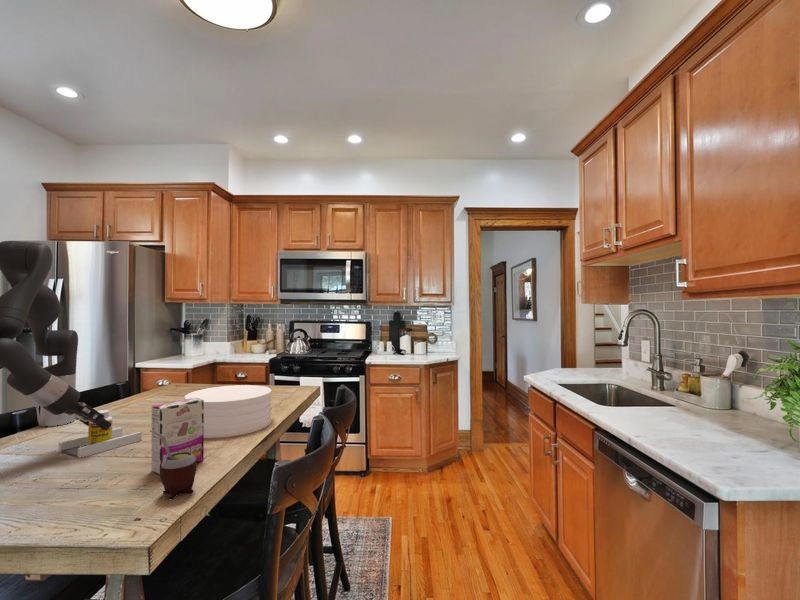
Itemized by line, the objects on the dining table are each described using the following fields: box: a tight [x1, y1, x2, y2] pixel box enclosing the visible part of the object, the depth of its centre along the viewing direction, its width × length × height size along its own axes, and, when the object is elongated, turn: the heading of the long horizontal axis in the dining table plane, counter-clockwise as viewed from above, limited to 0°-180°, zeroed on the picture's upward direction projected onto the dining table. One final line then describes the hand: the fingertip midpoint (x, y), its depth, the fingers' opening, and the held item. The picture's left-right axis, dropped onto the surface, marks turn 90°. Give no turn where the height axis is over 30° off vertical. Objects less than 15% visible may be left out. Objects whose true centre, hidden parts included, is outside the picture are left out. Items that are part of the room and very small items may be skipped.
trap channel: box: [58, 426, 142, 459], centre depth 113 cm, size 16×11×2 cm
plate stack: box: [183, 384, 272, 439], centre depth 135 cm, size 28×28×12 cm
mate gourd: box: [149, 429, 198, 500], centre depth 84 cm, size 8×8×15 cm
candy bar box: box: [151, 398, 205, 476], centre depth 99 cm, size 11×5×16 cm, turn 148°
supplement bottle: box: [87, 409, 113, 446], centre depth 113 cm, size 6×6×10 cm
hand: (100, 425), depth 113 cm, fingers open, 8 cm apart
